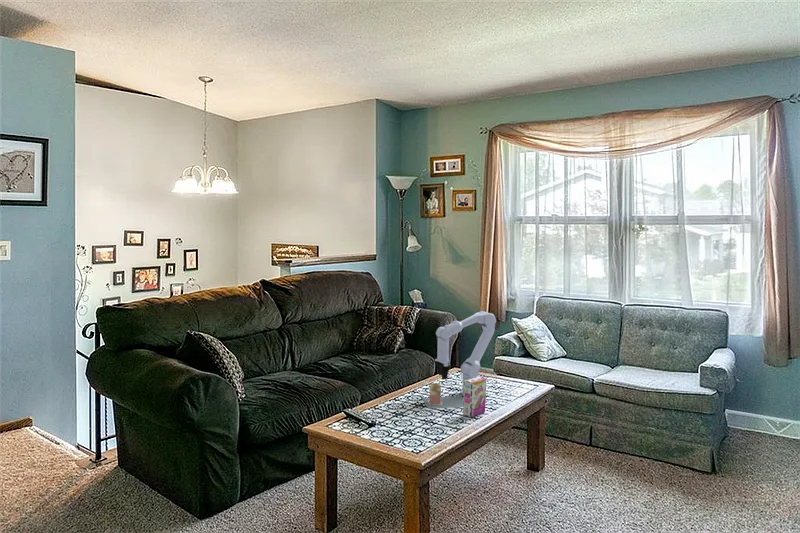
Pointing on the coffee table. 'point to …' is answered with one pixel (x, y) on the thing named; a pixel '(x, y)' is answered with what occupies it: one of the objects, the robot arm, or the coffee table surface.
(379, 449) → the coffee table surface
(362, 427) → the coffee table surface
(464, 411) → the candy bar box
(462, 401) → the grey flat plate
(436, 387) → the maple block
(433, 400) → the brick-red base block
